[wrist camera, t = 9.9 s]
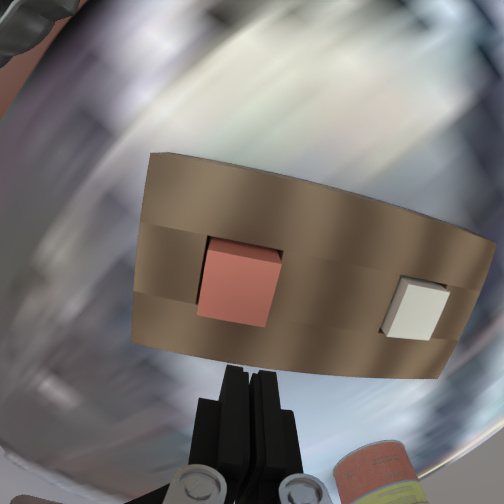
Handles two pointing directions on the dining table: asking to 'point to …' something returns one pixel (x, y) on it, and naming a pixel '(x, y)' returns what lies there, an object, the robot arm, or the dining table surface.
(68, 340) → the dining table surface
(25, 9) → the bundt pan
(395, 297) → the ivory cube
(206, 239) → the block
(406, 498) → the canned food
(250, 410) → the robot arm
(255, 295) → the salmon pink cube
